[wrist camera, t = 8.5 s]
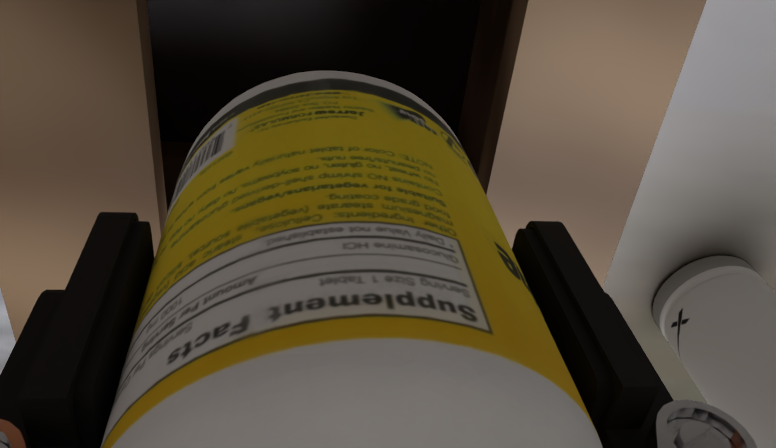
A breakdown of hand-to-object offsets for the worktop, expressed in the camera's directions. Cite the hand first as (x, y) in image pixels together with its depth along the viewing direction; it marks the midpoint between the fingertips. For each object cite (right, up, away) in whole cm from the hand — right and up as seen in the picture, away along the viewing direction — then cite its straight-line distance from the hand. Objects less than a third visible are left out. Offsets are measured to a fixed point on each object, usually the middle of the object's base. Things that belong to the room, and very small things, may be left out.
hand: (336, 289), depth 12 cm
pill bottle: (0, +2, +3) cm, 3 cm away
